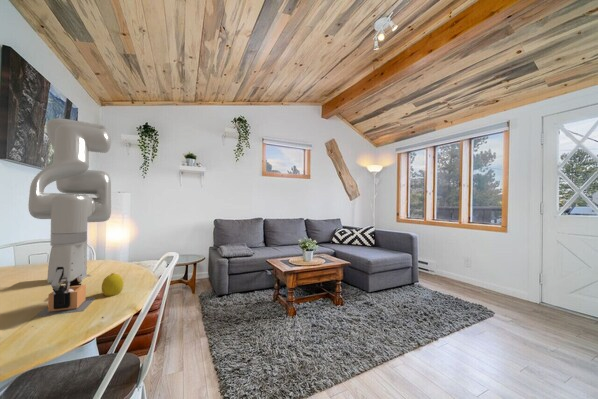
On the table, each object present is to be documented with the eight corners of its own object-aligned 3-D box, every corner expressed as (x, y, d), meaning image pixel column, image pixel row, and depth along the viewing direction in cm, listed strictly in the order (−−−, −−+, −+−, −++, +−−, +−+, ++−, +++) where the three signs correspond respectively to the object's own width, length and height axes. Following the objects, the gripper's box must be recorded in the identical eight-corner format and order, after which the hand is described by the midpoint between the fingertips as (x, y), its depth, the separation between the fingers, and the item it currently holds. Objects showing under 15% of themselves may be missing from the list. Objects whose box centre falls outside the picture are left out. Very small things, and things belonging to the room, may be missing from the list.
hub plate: (53, 306, 72) (54, 285, 72) (96, 302, 76) (96, 281, 76) (33, 323, 63) (33, 298, 63) (83, 316, 67) (83, 293, 67)
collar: (59, 302, 71) (59, 287, 71) (85, 300, 74) (86, 284, 74) (48, 311, 66) (48, 294, 66) (76, 308, 68) (77, 291, 68)
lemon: (111, 302, 76) (112, 276, 76) (96, 300, 77) (97, 274, 77) (127, 295, 82) (127, 271, 82) (113, 294, 83) (113, 270, 83)
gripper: (66, 234, 76) (65, 293, 76) (33, 244, 60) (31, 319, 60) (97, 233, 79) (95, 290, 79) (72, 243, 63) (71, 314, 63)
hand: (68, 302), depth 70 cm, fingers open, 6 cm apart
